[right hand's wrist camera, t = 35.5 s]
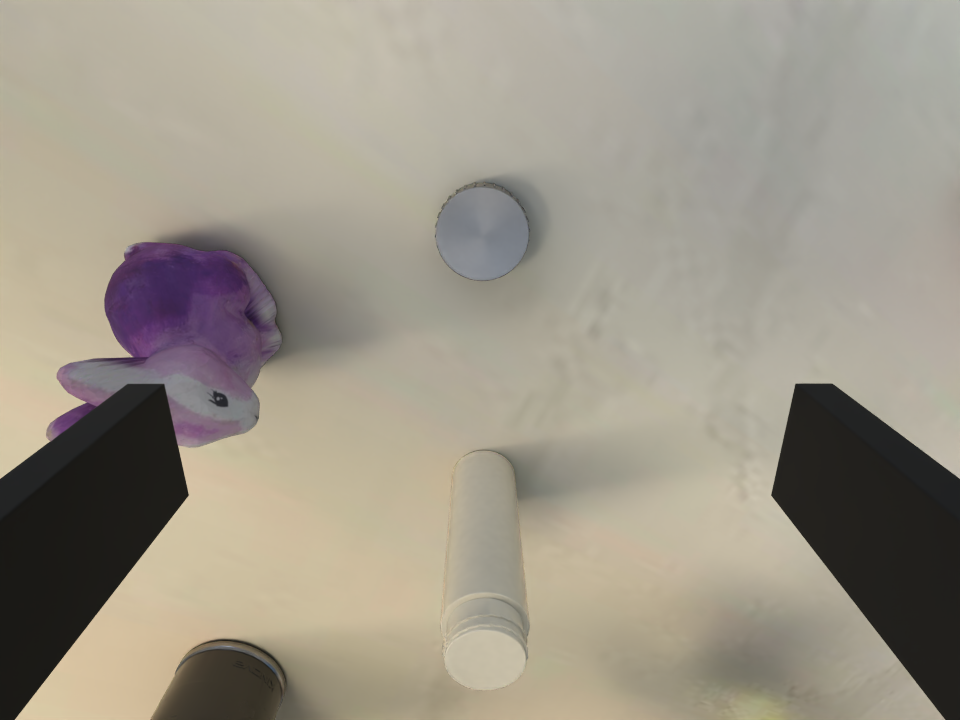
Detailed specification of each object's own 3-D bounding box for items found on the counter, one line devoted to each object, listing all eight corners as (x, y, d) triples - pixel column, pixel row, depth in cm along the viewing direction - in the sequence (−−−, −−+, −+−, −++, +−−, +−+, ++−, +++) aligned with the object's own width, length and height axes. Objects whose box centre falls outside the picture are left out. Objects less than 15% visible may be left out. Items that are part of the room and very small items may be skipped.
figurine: (307, 375, 42) (220, 504, 28) (159, 370, 41) (-3, 497, 27) (296, 240, 38) (191, 310, 24) (135, 234, 38) (-65, 300, 24)
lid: (418, 235, 38) (415, 242, 36) (475, 161, 36) (474, 164, 34) (488, 290, 39) (489, 300, 37) (545, 221, 38) (550, 227, 36)
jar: (521, 457, 44) (544, 634, 29) (506, 509, 46) (519, 702, 31) (459, 444, 44) (448, 617, 29) (446, 497, 46) (428, 687, 30)
